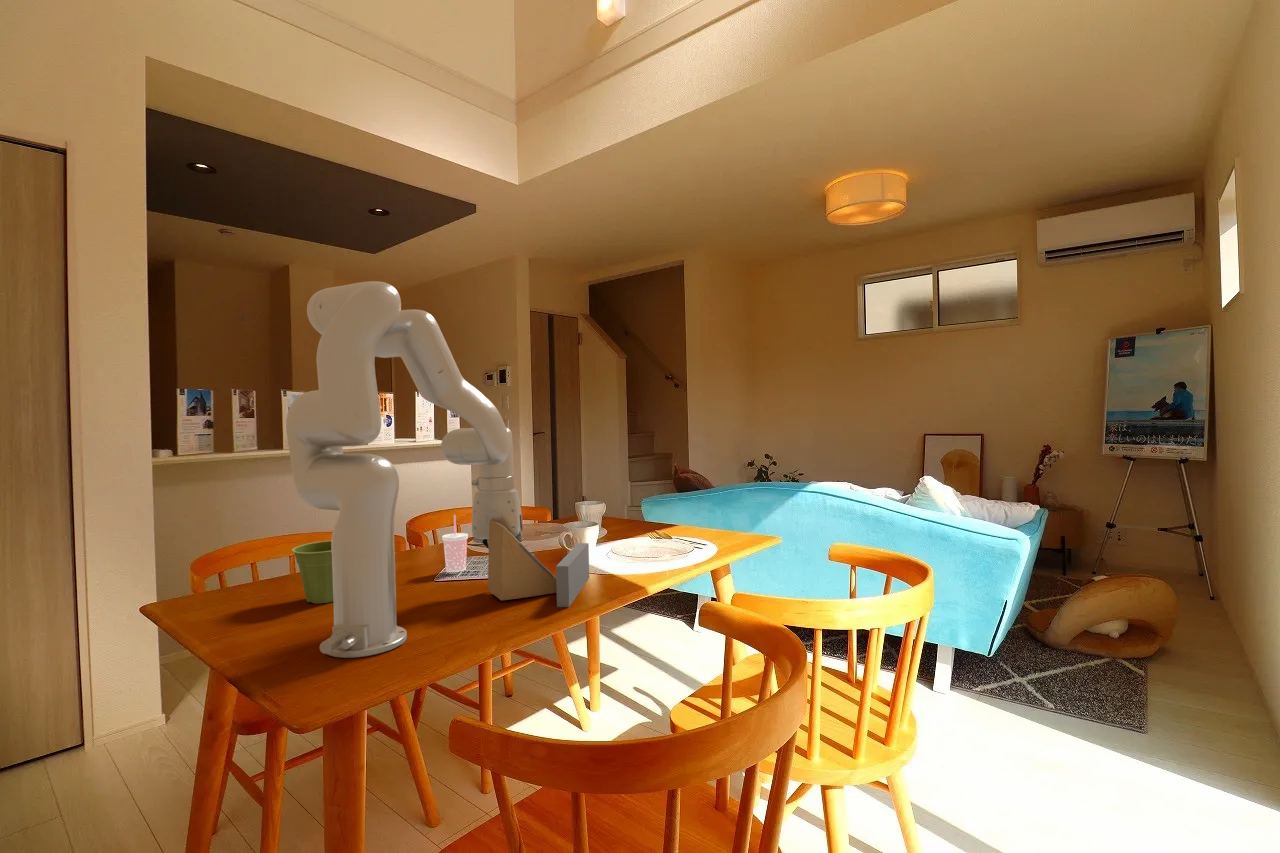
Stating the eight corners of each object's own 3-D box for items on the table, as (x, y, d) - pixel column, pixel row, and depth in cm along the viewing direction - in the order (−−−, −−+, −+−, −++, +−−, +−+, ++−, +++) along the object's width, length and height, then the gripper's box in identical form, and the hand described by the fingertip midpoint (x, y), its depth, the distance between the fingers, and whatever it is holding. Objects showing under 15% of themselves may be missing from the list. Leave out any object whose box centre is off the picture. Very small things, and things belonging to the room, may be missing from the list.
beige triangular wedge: (570, 590, 133) (572, 521, 133) (501, 601, 125) (503, 526, 124) (553, 580, 140) (555, 514, 140) (487, 589, 132) (489, 519, 132)
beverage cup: (441, 570, 153) (439, 514, 153) (466, 567, 156) (465, 511, 156) (444, 576, 148) (443, 517, 147) (471, 573, 150) (469, 515, 150)
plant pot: (287, 599, 131) (285, 546, 131) (346, 588, 139) (345, 537, 139) (301, 612, 122) (299, 554, 122) (364, 599, 130) (362, 545, 130)
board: (569, 607, 122) (568, 566, 121) (557, 607, 122) (556, 566, 122) (589, 577, 143) (588, 543, 143) (579, 577, 144) (578, 543, 144)
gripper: (456, 487, 131) (459, 574, 132) (526, 486, 130) (529, 573, 131) (468, 483, 139) (471, 565, 139) (534, 481, 138) (537, 564, 139)
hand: (499, 568), depth 135 cm, fingers closed
